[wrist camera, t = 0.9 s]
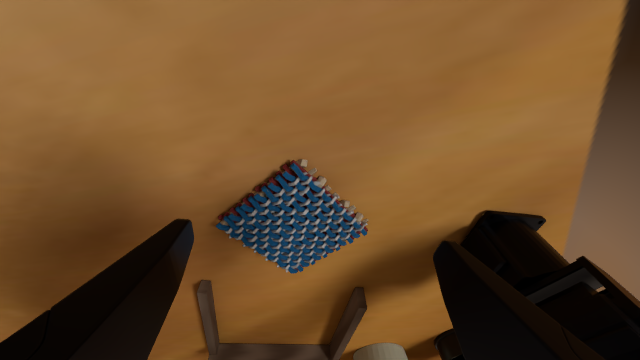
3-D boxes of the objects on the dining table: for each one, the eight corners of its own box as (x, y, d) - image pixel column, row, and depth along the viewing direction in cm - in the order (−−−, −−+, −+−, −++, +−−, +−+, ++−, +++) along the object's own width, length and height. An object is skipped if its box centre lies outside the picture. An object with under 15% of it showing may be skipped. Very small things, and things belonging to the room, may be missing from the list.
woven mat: (294, 264, 28) (294, 280, 26) (216, 214, 23) (209, 230, 21) (371, 219, 24) (376, 234, 23) (299, 147, 19) (299, 161, 18)
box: (363, 287, 30) (370, 321, 27) (334, 347, 40) (336, 377, 37) (201, 280, 28) (187, 316, 24) (213, 346, 37) (204, 378, 34)
